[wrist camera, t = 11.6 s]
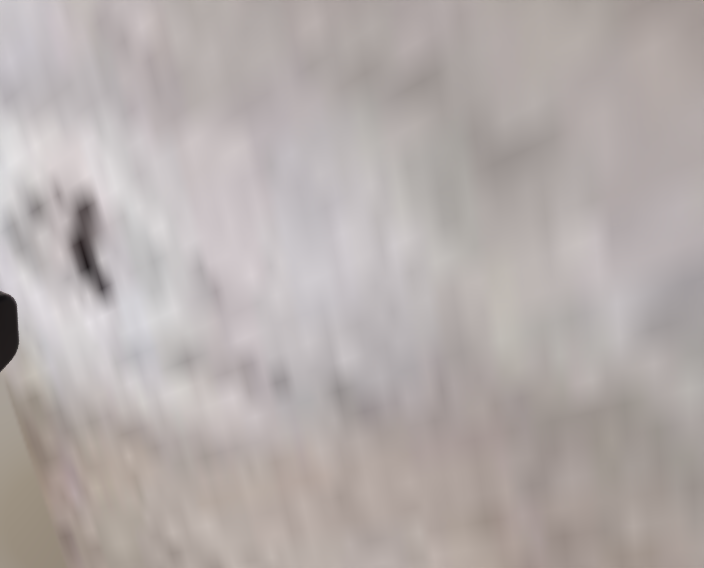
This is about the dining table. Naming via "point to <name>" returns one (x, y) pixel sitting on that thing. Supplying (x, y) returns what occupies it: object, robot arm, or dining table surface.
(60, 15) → the dining table surface
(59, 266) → the dining table surface
